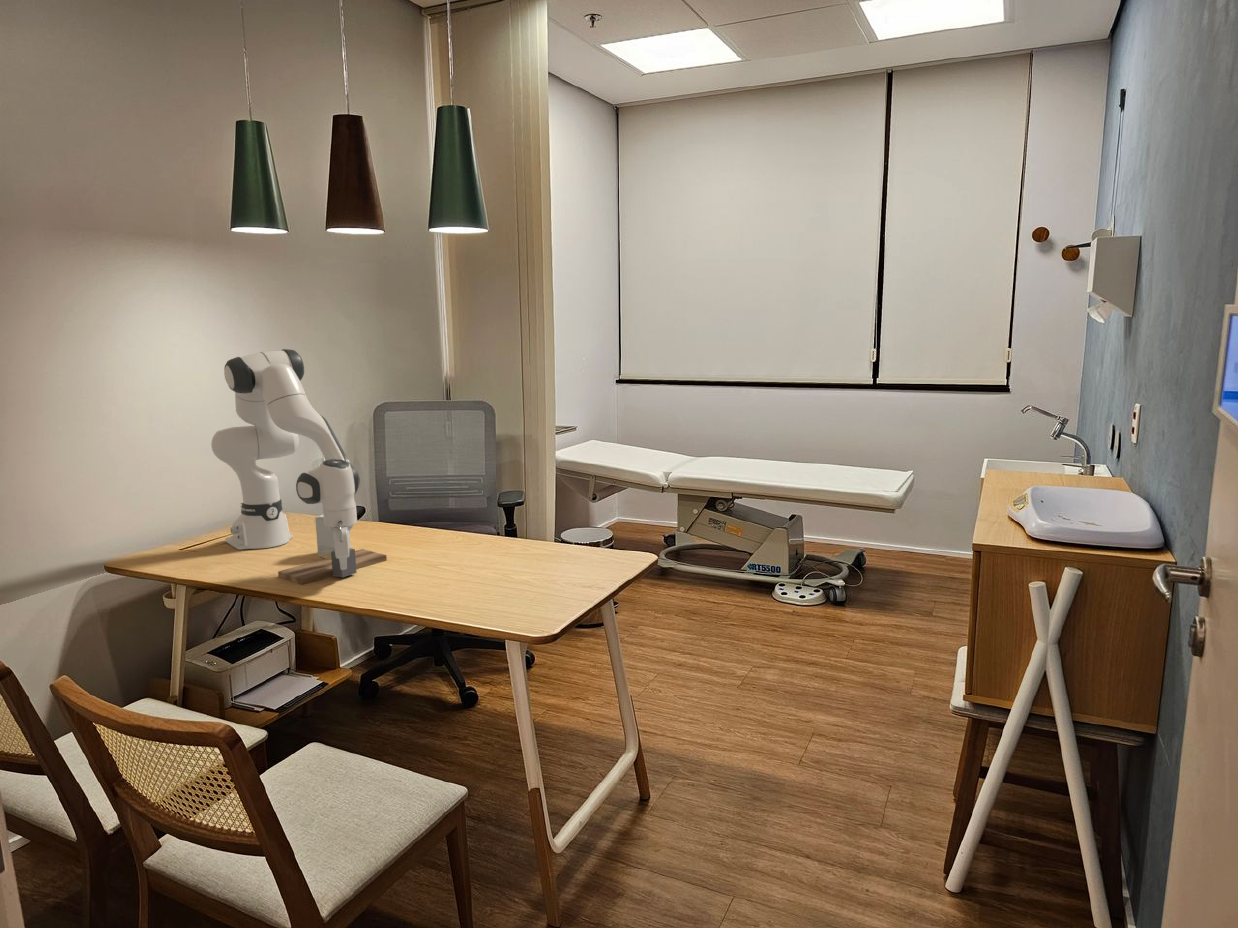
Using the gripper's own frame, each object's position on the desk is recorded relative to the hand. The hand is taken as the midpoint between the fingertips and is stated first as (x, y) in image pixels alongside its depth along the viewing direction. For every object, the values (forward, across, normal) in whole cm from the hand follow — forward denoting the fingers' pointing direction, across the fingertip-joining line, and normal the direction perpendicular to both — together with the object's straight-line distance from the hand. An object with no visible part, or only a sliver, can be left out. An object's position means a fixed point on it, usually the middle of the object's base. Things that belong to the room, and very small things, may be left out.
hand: (344, 565), depth 229 cm
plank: (+3, +9, +3) cm, 10 cm away
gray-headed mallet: (+3, +2, +2) cm, 4 cm away
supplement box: (+4, +26, +3) cm, 26 cm away
